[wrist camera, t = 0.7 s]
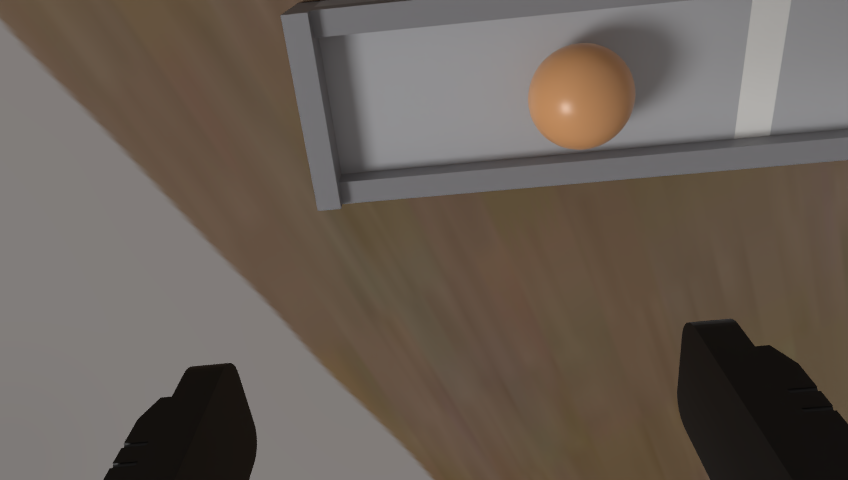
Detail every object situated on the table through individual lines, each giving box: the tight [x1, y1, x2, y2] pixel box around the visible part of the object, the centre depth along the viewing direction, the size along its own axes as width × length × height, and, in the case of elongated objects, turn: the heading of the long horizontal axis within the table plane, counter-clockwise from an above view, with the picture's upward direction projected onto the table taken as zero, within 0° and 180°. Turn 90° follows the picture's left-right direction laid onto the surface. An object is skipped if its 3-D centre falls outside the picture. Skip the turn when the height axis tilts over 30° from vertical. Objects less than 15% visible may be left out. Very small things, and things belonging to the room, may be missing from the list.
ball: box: [528, 43, 635, 150], centre depth 24 cm, size 4×4×4 cm
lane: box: [281, 0, 848, 211], centre depth 26 cm, size 8×34×4 cm, turn 96°
